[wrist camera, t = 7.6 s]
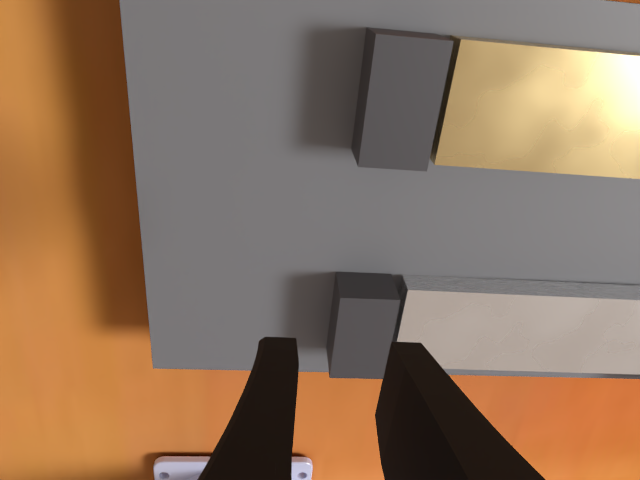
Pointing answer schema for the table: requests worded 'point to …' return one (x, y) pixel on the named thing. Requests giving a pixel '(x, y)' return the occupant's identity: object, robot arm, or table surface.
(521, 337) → the bar
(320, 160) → the mounting plate
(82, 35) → the table surface
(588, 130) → the bar
